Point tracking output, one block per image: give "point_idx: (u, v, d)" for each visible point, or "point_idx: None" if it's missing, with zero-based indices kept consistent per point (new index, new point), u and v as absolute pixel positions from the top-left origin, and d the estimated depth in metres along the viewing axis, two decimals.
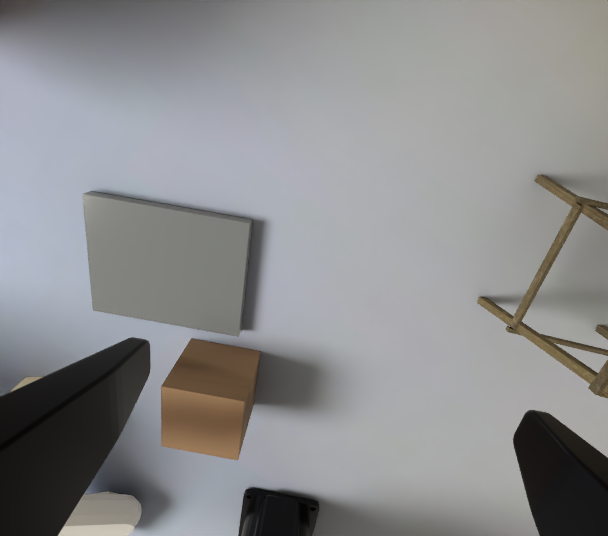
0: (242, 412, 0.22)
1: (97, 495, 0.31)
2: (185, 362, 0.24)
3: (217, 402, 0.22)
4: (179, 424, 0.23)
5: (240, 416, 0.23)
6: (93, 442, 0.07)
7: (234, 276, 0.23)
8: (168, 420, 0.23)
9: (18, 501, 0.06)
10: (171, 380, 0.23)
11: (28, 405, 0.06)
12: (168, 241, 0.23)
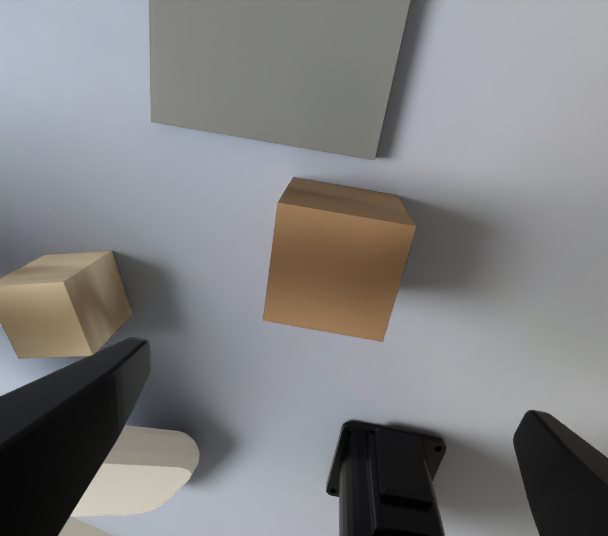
0: (408, 249, 0.14)
1: (142, 428, 0.22)
2: (299, 190, 0.16)
3: (368, 230, 0.14)
4: (296, 278, 0.15)
5: (403, 257, 0.14)
6: (93, 442, 0.07)
7: (384, 42, 0.15)
8: (280, 271, 0.14)
9: (18, 501, 0.06)
10: (290, 199, 0.14)
11: (28, 405, 0.06)
12: None
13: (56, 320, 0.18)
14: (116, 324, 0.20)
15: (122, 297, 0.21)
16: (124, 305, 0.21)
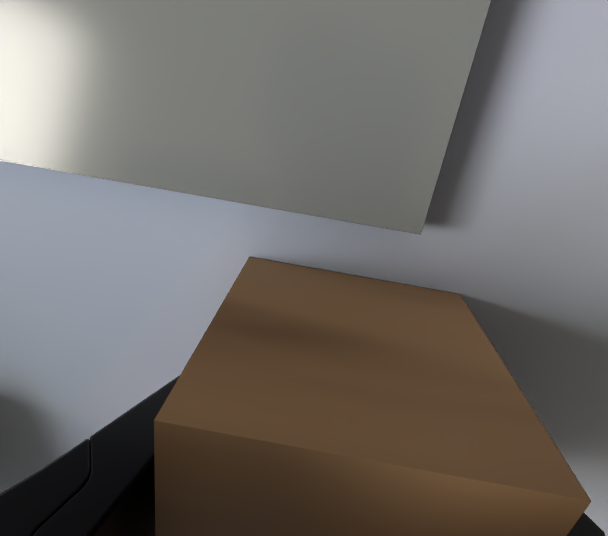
0: None
1: None
2: (247, 319, 0.06)
3: (434, 500, 0.04)
4: None
5: None
6: None
7: None
8: None
9: (145, 525, 0.06)
10: (205, 386, 0.05)
11: (148, 427, 0.06)
12: None
13: None
14: None
15: None
16: None
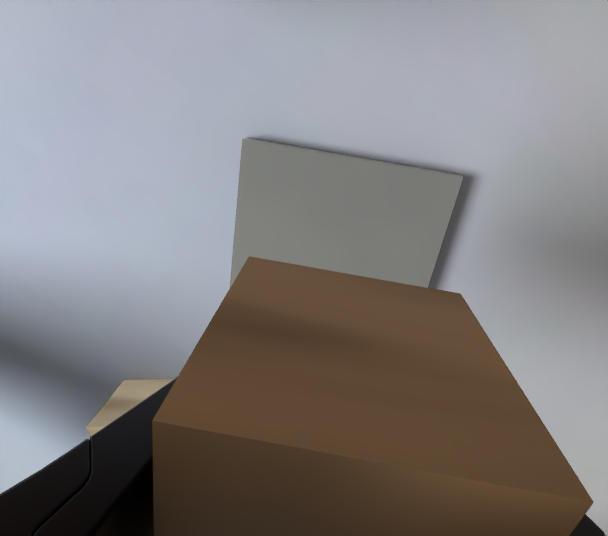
0: None
1: None
2: (246, 318, 0.06)
3: (435, 501, 0.04)
4: None
5: None
6: None
7: (426, 249, 0.18)
8: None
9: (145, 525, 0.06)
10: (203, 387, 0.05)
11: (148, 428, 0.06)
12: (346, 203, 0.18)
13: None
14: None
15: None
16: None
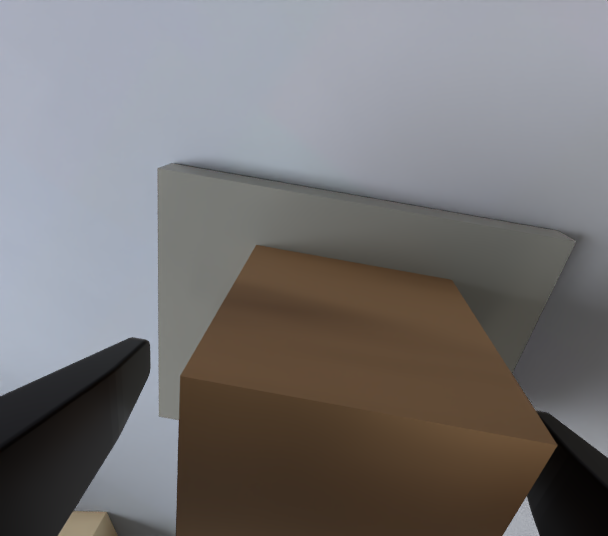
0: (525, 488, 0.05)
1: None
2: (256, 297, 0.07)
3: (423, 446, 0.05)
4: (242, 524, 0.06)
5: (511, 505, 0.05)
6: (93, 442, 0.07)
7: None
8: (204, 511, 0.06)
9: (18, 501, 0.06)
10: (221, 350, 0.06)
11: (28, 405, 0.06)
12: None
13: None
14: None
15: None
16: None
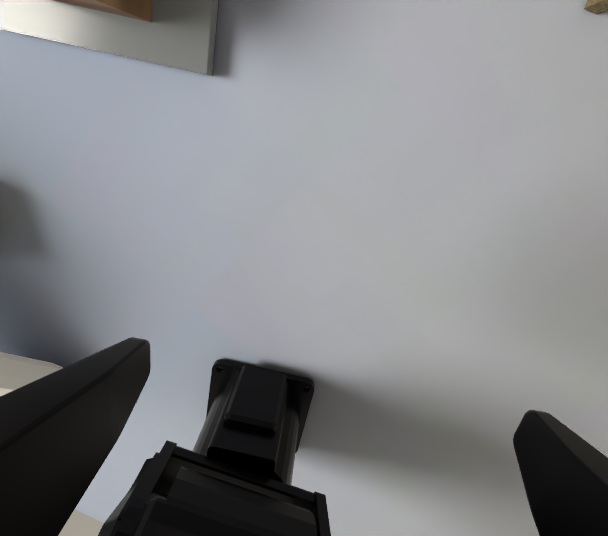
0: None
1: (8, 354, 0.22)
2: None
3: None
4: None
5: None
6: (93, 442, 0.07)
7: None
8: None
9: (18, 501, 0.06)
10: None
11: (28, 405, 0.06)
12: None
13: None
14: None
15: None
16: None
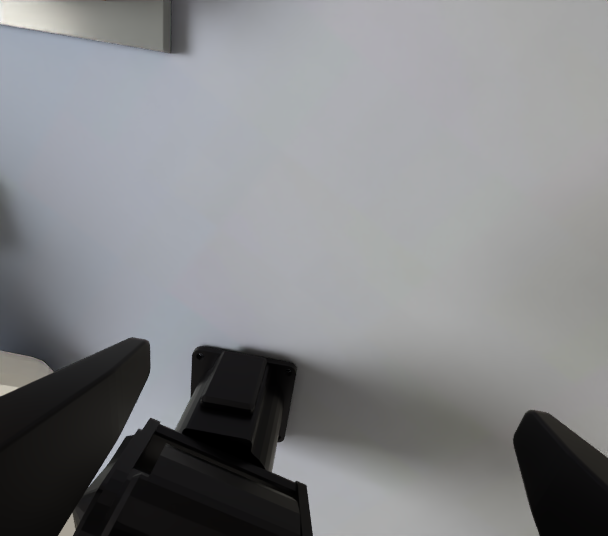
0: None
1: None
2: None
3: None
4: None
5: None
6: (93, 442, 0.07)
7: None
8: None
9: (18, 501, 0.06)
10: None
11: (28, 405, 0.06)
12: None
13: None
14: None
15: None
16: None
